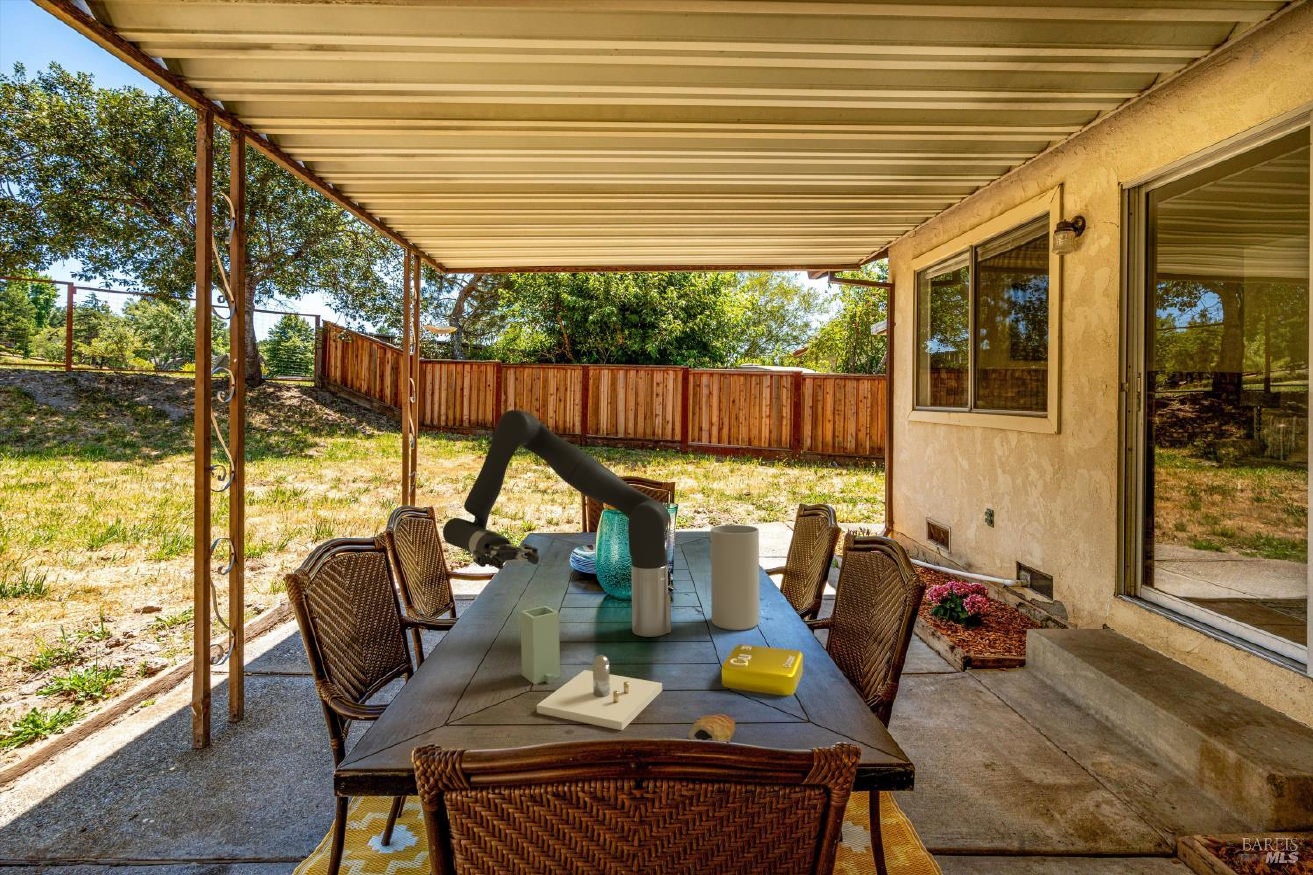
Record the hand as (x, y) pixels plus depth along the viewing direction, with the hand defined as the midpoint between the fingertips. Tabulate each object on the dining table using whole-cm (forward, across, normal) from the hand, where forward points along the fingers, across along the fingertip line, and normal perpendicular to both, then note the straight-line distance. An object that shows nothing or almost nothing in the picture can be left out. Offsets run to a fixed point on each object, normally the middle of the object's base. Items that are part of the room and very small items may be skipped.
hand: (519, 562), depth 151 cm
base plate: (+30, +3, +21) cm, 37 cm away
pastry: (+54, +10, +20) cm, 59 cm away
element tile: (+42, +36, +20) cm, 59 cm away
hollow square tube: (+12, 0, +22) cm, 25 cm away
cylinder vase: (+13, +56, +21) cm, 61 cm away
